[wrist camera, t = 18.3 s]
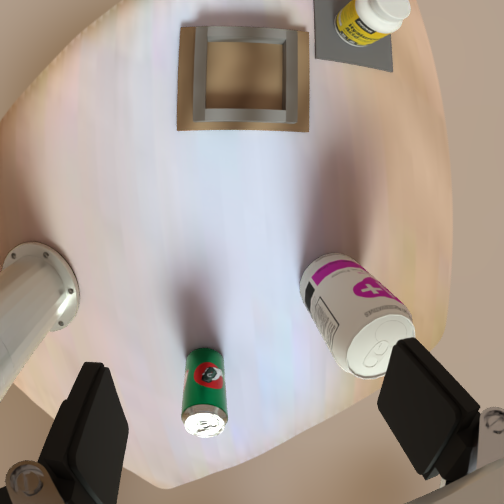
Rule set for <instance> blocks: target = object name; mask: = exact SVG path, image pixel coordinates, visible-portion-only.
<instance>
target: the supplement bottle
mask: <svg viewBox="0 0 504 504" xmlns="http://www.w3.org/2000/svg"><path fill="white" fill-rule="evenodd" d="M410 11H411V7H410V3H409V1H408V0H352V1H351V2H349V3H348V4H347V5H346V6H345V7H344V8H343V9H342V10H341V11H339V13H338V14H337V15H336V17H335V20H334V25H335V29H336V32H337V33H338V35H339V36H340V37H341V39H343V40H344V41H345V42H346V43H348V44H350V45H353V46H356V47H364V46H367V45H370V44H372V43H373V42H375V41H377V40H379V39H381V38H383V37H385V36H387V35H389V34H391V33H393V32H395V31H396V30H397V29H399V28H400V26H401V24H402V21H403V19H405V18H407V17H408V16H409V14H410Z"/></svg>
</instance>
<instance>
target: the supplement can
mask: <svg viewBox="0 0 504 504" xmlns="http://www.w3.org/2000/svg"><path fill="white" fill-rule="evenodd" d="M300 294H301V297H302V300H303V303H304V304H305V306H306V308H307V310H308V312H309V313H310V315H311V317H312V319H313V321H314V322H315V324H316V326H317V328H318V330H319V332H320V333H321V335H322V337H323V339H324V341H325V343H326V344H327V346H328V348H329V350H330V352H331V354H332V355H333V357H334V359H335V361H336V363H337V364H338V365H339V366H340V367H341V368H342V369H343V370H344V371H345V372H348V373H351V374H353V375H354V376H355V377H358V378H361V379H376V378H379V377H382V376H384V375H385V374H386V370H387V367H388V363H389V359H390V356H391V352H392V348H393V346H394V345H396V343H397V341H398V340H400V339H405V338H410V337H414V338H415V328H414V326H413V323H412V315H411V313H410V312H409V310H408V309H407V307H406V306H405V305H404V304H403V303H402V302H401V301H400V300H399V299H398V298H397V297H395V296H394V295H393V294H392V293H391V292H390V291H389V290H388V289H387V288H385V287H384V286H383V285H382V284H381V283H380V282H379V281H378V280H376V279H375V278H374V277H373V276H372V275H371V274H370V273H369V272H367V271H366V270H365V269H364V268H363V267H362V266H361V265H359V264H358V263H357V262H356V261H355V260H354V259H352V258H350V257H349V256H347V255H345V254H340V253H331V254H327V255H322V256H321V257H319V258H318V259H316V260H314V261H313V262H312V263H311V264H310V265H309V266H308V268H307V269H306V270H305V271H304V274H303V276H302V278H301V281H300Z"/></svg>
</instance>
